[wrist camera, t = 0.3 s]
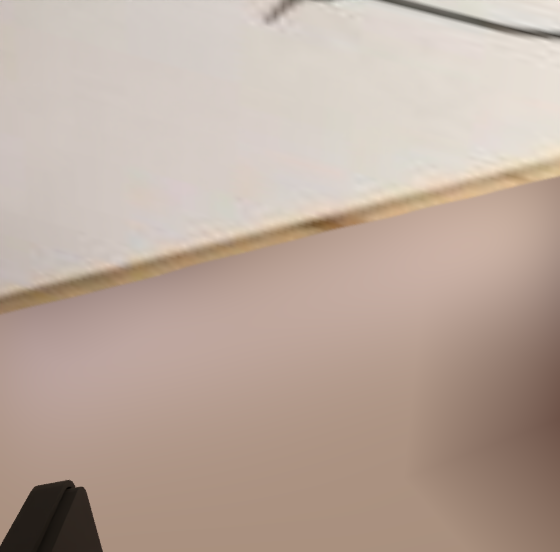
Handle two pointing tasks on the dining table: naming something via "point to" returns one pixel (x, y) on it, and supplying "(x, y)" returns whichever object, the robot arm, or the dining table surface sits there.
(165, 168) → the dining table surface
